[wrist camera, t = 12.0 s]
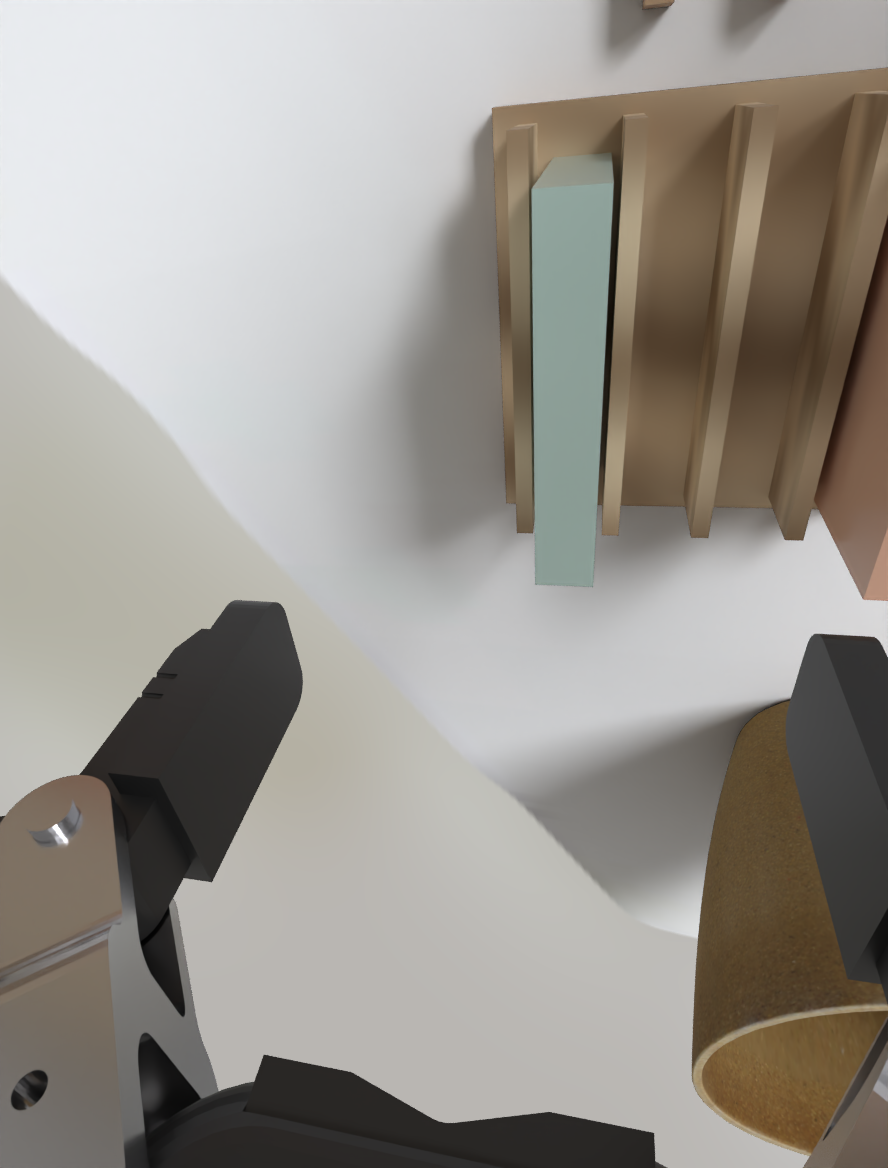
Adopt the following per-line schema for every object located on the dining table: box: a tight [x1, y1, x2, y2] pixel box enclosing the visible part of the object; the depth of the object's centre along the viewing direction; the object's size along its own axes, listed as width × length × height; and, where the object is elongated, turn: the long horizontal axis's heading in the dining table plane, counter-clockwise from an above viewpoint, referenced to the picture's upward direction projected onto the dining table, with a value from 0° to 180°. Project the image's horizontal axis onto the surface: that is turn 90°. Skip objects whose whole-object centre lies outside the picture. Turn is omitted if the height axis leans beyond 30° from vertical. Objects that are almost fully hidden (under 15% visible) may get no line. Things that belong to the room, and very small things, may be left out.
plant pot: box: [692, 701, 888, 1156], centre depth 29 cm, size 15×15×16 cm
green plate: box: [532, 153, 614, 587], centre depth 21 cm, size 11×2×8 cm, turn 5°
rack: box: [492, 68, 888, 540], centre depth 23 cm, size 14×15×4 cm
